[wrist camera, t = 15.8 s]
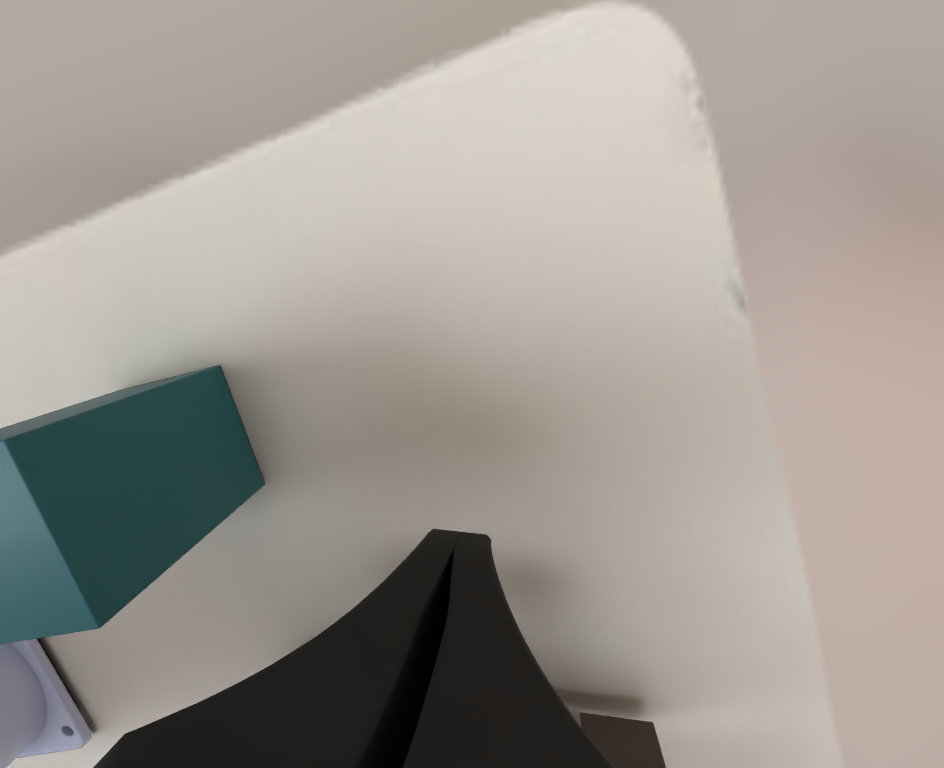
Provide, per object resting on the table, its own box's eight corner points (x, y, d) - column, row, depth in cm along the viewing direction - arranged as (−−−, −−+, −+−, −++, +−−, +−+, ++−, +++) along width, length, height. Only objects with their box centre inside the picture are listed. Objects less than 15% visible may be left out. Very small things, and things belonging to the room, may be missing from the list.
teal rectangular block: (117, 390, 16) (-154, 478, 10) (220, 364, 16) (3, 440, 9) (167, 504, 17) (-49, 653, 11) (265, 484, 17) (99, 629, 10)
